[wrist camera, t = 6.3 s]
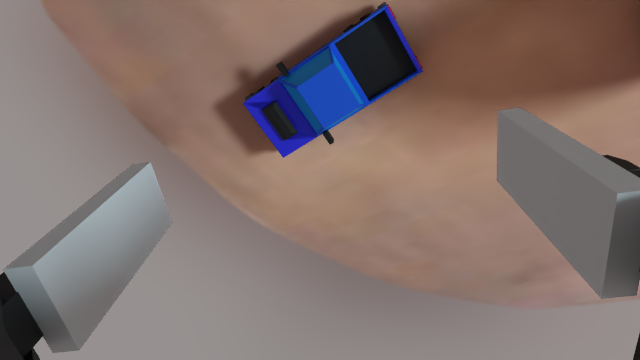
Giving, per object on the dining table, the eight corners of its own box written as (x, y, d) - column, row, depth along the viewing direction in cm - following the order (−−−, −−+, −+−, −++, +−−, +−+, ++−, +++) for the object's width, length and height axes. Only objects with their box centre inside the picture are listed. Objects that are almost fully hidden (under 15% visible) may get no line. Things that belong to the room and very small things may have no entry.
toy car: (242, 85, 31) (227, 101, 26) (377, -9, 28) (385, -9, 23) (292, 153, 33) (285, 178, 29) (421, 73, 30) (437, 87, 26)
